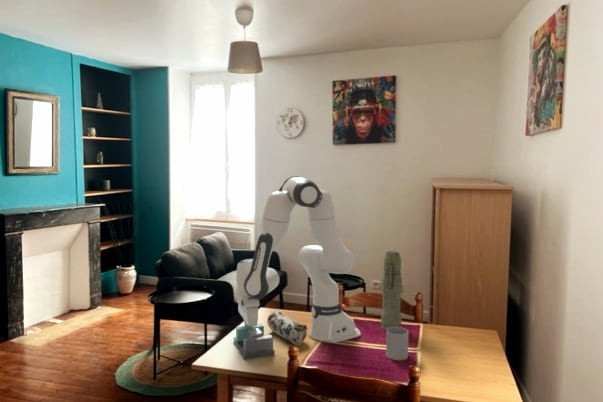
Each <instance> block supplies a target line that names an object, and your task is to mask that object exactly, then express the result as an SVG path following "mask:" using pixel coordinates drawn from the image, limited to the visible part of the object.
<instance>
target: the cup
mask: <svg viewBox="0 0 603 402" xmlns="http://www.w3.org/2000/svg"><path fill="white" fill-rule="evenodd" d="M385 336H386V342H385V343H386V344H385V346H386V347H385V356H386V357H387V358H388V359H390V360H394V361H405V360H407V359H408V357H409V330H408V329H407V328H404V327H402V326H401V327H389V328H387V331H386V335H385Z"/></svg>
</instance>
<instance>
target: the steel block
mask: <svg viewBox="0 0 603 402" xmlns="http://www.w3.org/2000/svg"><path fill="white" fill-rule="evenodd" d="M258 336H262V332H261V331H260V330H259V329H258V328H253V329H248V338H251V337H258Z"/></svg>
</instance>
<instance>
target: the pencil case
mask: <svg viewBox="0 0 603 402" xmlns="http://www.w3.org/2000/svg"><path fill="white" fill-rule="evenodd" d="M267 326H268V328H269V329H270V330H271V332H273V333H275V334H276V335H278V336H280V337H281V338H282V339H285V340H287V341H288V342H290V343H292V344H294V345H295V346H301V345H302V344H303V342H304V341H305V340H306V337H307V335H308V331H307V330H308V327H307V325H306V324H303V323H300V322H299V321H298V322H297V320H294V319H292V318H291V317H288V316H286V315H284V314H283V313H282V312H281V311H279V310H276V309H273V310H272V311H270V314H269V315H268V317H267Z"/></svg>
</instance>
